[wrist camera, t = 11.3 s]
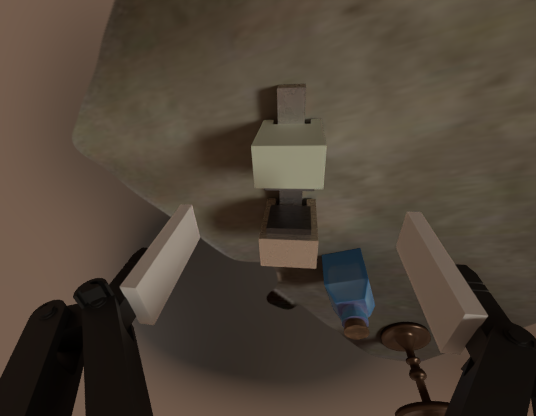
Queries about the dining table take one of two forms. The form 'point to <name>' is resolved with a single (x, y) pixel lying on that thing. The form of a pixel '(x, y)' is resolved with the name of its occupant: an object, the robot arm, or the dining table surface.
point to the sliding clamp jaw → (289, 156)
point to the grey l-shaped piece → (289, 204)
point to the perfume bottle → (349, 290)
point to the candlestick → (413, 365)
